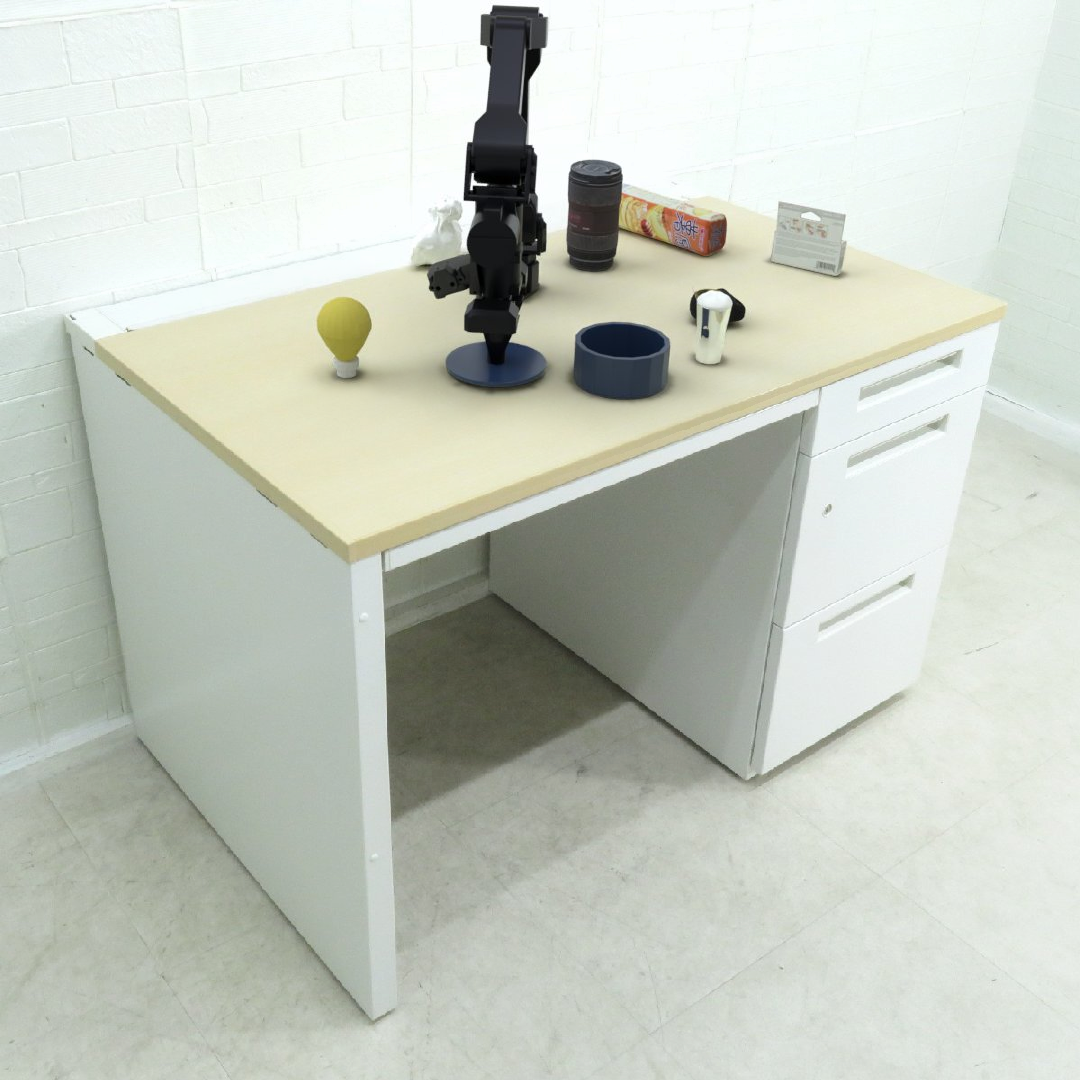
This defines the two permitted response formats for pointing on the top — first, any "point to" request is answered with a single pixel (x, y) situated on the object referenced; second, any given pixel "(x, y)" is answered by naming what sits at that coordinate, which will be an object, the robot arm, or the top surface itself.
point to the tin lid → (496, 365)
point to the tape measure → (736, 310)
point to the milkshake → (711, 325)
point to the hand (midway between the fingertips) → (496, 358)
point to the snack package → (672, 221)
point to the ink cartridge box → (809, 239)
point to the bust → (439, 233)
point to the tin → (621, 360)
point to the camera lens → (593, 213)
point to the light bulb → (344, 332)
